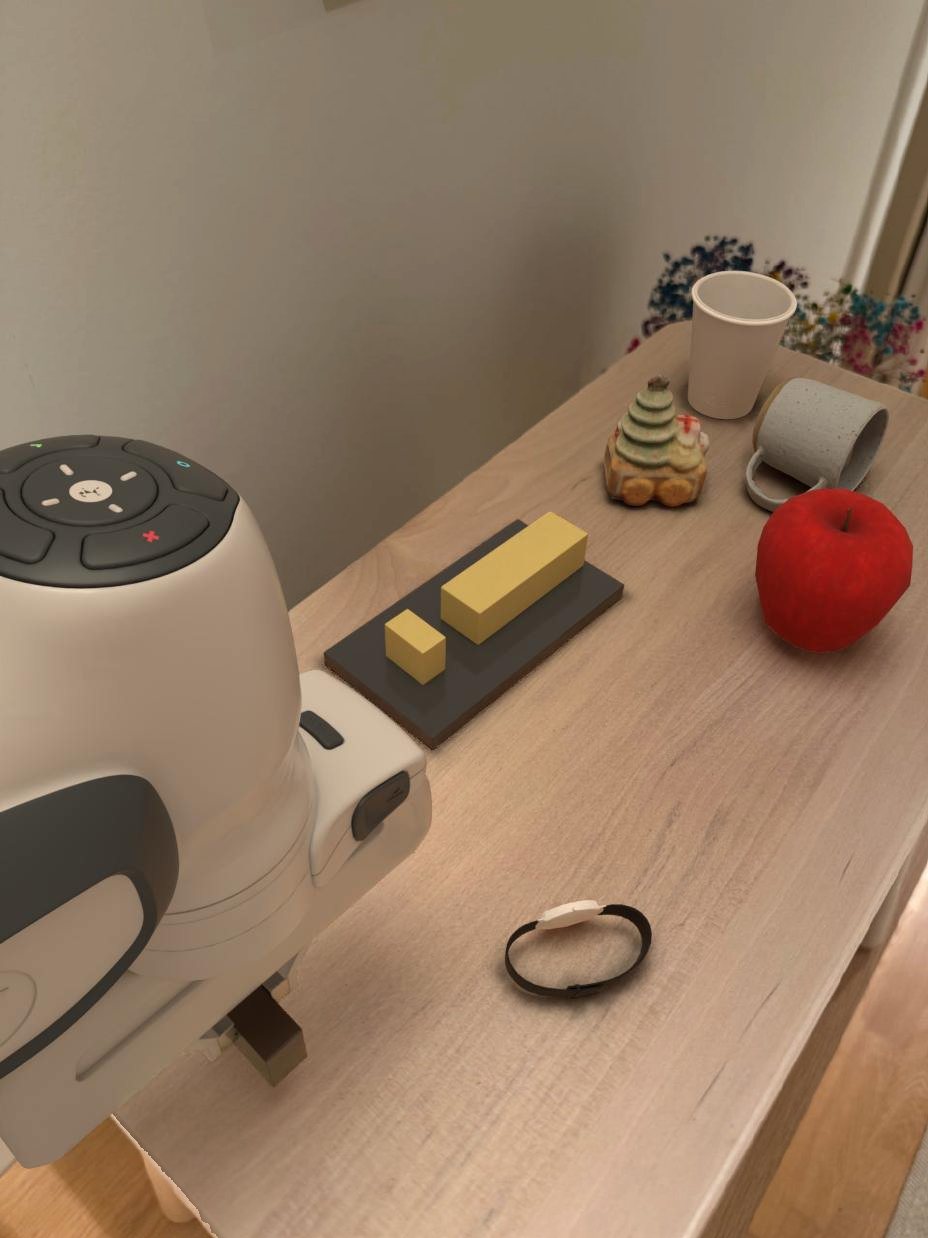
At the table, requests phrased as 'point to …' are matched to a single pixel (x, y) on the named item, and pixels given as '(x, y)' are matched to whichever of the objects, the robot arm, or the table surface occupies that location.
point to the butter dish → (467, 647)
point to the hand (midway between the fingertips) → (245, 1011)
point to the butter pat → (415, 646)
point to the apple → (831, 568)
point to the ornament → (656, 451)
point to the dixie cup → (734, 339)
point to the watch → (570, 916)
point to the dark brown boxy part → (268, 1036)
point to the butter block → (513, 577)
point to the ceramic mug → (816, 437)
